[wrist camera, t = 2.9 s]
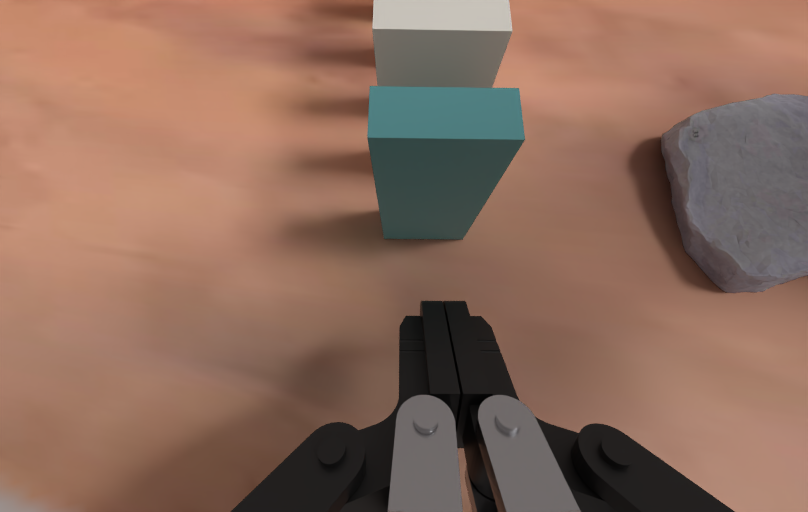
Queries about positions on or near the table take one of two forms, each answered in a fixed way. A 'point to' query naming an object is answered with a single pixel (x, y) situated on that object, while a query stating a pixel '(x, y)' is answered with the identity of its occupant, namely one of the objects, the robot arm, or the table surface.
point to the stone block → (743, 190)
